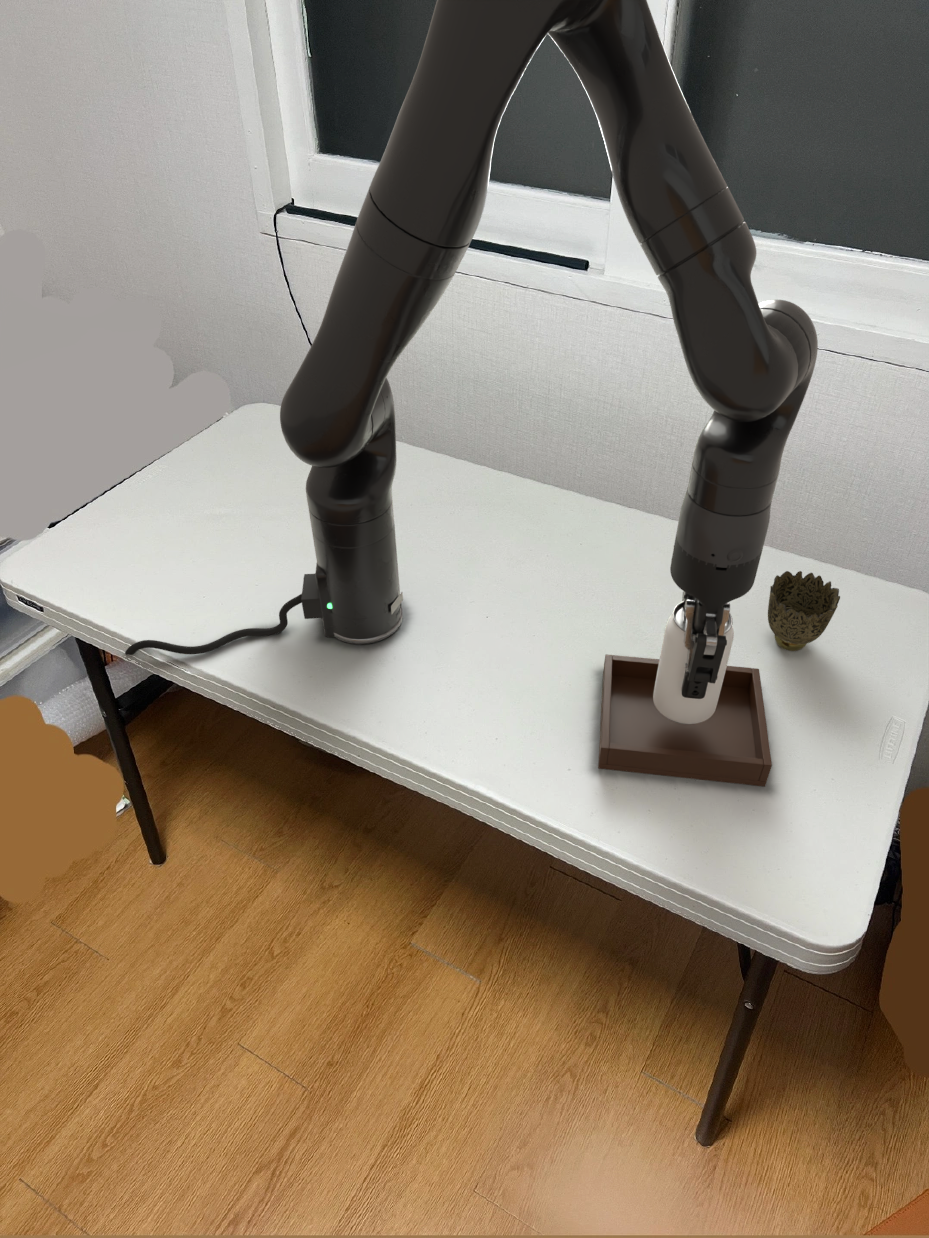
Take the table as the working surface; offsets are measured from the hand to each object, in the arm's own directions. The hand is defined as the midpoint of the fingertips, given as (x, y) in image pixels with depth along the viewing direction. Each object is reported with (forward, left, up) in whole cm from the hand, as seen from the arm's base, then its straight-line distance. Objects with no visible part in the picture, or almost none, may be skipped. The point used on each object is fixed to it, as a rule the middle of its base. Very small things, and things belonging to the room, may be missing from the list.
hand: (691, 670), depth 90 cm
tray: (0, 0, -9) cm, 9 cm away
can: (0, 0, -5) cm, 5 cm away
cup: (+16, +12, -9) cm, 22 cm away
